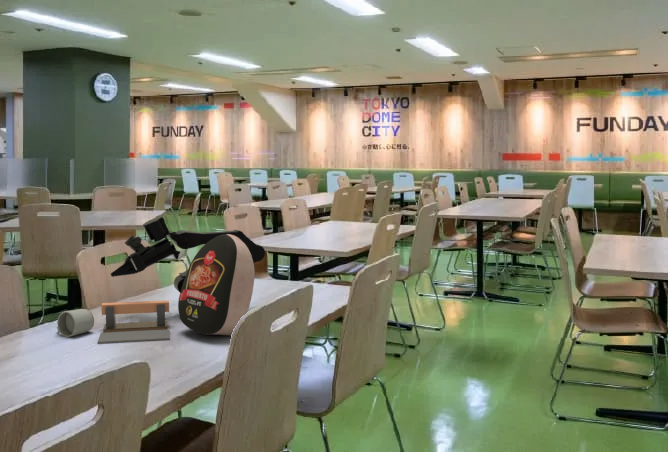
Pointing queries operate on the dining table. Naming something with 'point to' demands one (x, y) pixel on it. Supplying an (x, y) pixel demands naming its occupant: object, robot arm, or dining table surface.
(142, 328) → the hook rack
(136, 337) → the mat
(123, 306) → the rail
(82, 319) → the ceramic mug
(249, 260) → the packaged food
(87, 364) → the dining table surface
